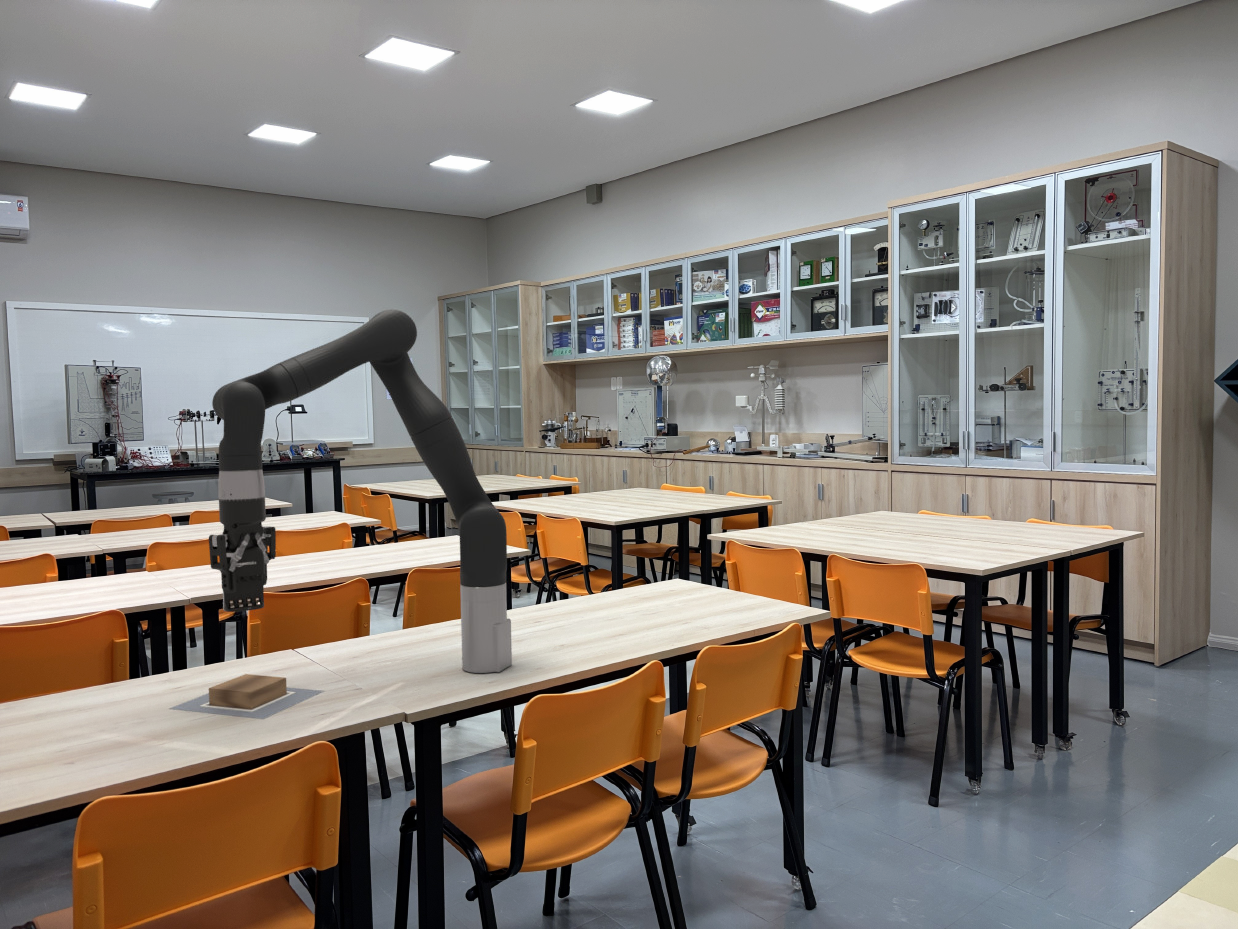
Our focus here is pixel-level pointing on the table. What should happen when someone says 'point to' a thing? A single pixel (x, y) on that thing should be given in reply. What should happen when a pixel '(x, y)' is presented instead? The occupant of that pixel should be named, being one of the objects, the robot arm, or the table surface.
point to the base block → (247, 691)
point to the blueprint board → (259, 712)
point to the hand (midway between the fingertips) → (245, 588)
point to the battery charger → (247, 582)
